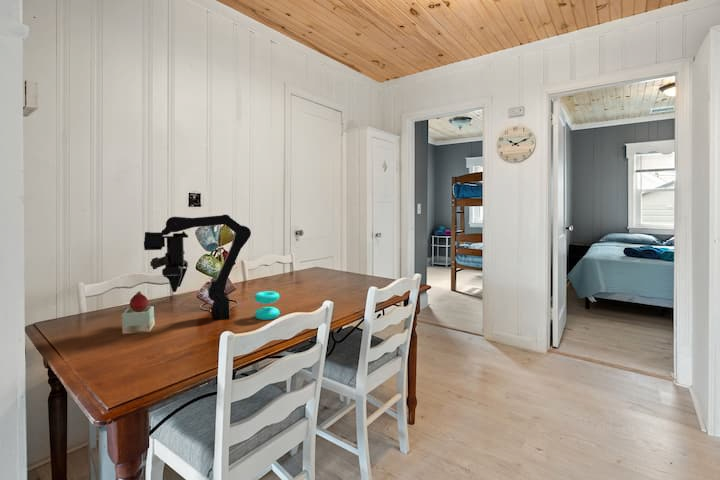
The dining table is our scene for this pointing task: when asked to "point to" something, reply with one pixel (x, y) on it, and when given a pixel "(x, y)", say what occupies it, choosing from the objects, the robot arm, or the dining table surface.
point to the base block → (138, 328)
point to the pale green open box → (137, 317)
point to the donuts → (267, 312)
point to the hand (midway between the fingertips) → (176, 289)
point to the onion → (138, 302)
